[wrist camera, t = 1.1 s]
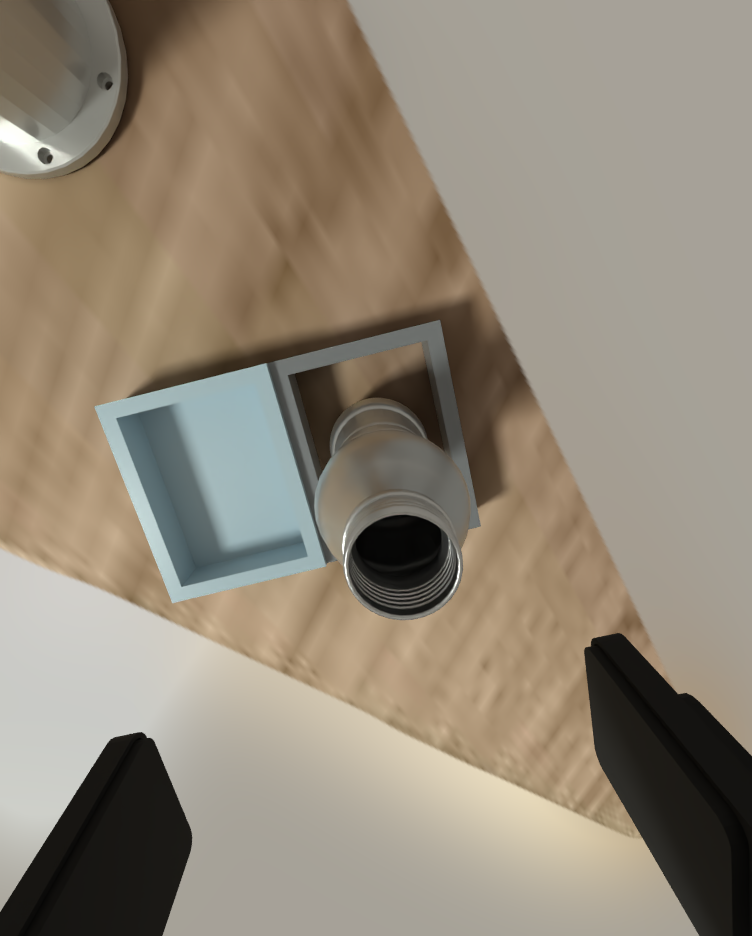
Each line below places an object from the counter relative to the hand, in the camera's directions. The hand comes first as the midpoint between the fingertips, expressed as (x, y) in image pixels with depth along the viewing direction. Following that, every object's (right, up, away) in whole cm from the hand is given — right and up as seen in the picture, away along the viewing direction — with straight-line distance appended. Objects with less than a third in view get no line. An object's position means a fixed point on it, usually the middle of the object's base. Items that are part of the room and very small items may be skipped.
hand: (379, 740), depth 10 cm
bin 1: (-11, +5, +24) cm, 26 cm away
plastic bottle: (0, +8, +24) cm, 25 cm away
